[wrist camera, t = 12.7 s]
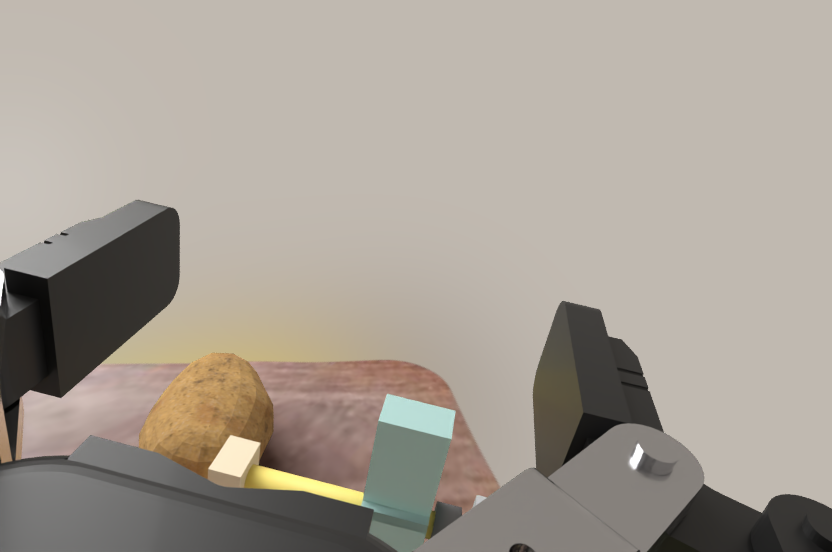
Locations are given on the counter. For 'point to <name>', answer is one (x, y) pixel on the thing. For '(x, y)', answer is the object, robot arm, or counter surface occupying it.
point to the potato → (208, 412)
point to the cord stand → (298, 481)
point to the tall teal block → (406, 470)
